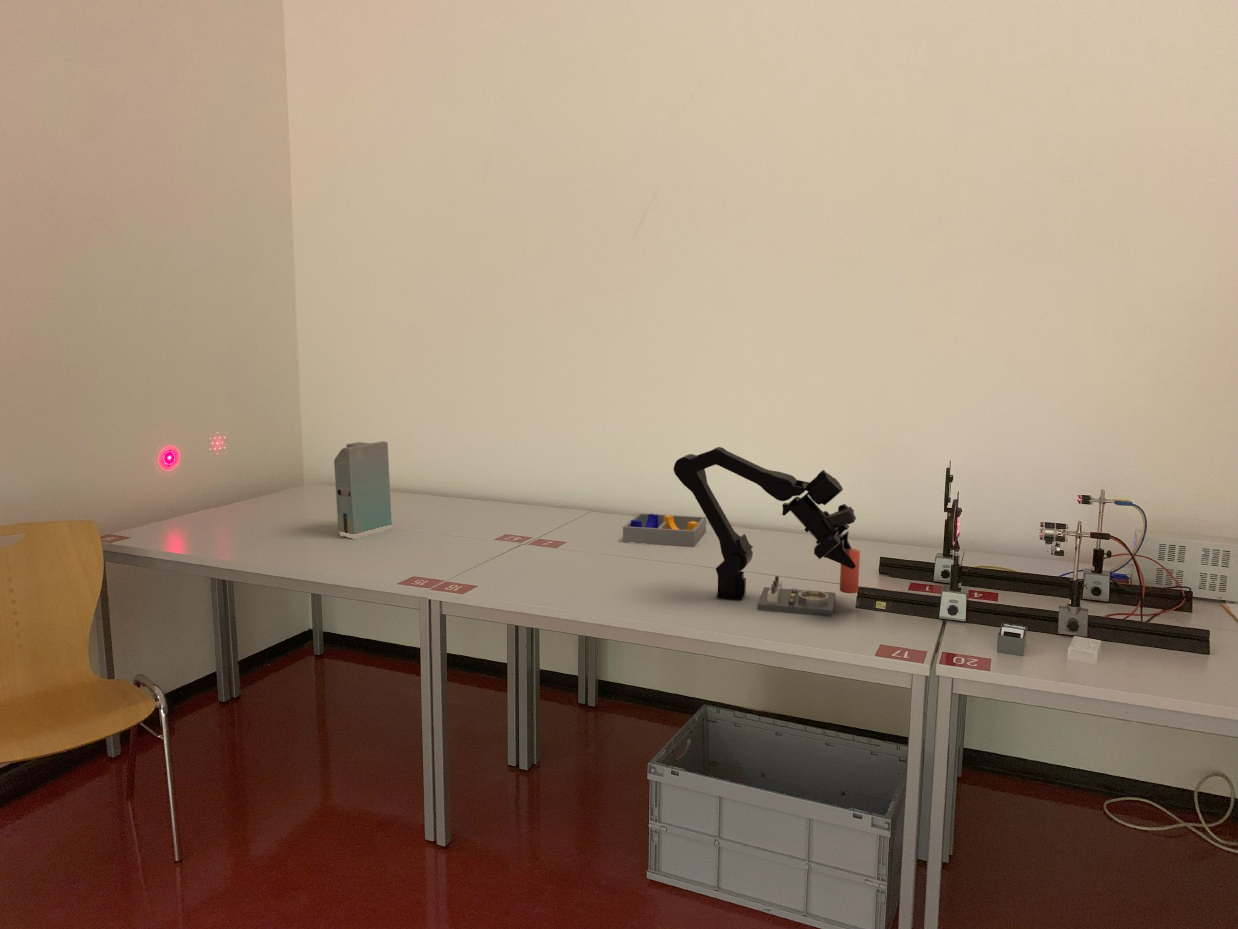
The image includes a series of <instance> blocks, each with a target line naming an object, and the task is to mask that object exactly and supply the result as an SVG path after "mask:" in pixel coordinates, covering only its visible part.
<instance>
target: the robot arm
mask: <svg viewBox="0 0 1238 929" xmlns="http://www.w3.org/2000/svg"><path fill="white" fill-rule="evenodd" d="M714 466H719V467H721V468H723V469H725V470H727V471H728V472H729V471H730V472H731V473H734V474H735V475H737V476H738V477H741V478H744V479H745V480H748V481H750V482H752V483H754V484H756V485H758V486H759V487H760V488H761V489H763V491H764V492H766V493H767V494H768V495H770V496H771V497H773V498H774V499H775V500H776V501H780V502H783V503H782V506H781V507H782V513H781V515H782V516H784V517H785V516H786V515H787V514H788V513H789V512H791V514H793V516H794V517H795V518H796V519H797V520H798V521H799V522H800V523H801V524H802V526H803V527H804V529H803V530H804V531H805V532H806V533H808V532H809V533H810V535H812V536H813V538H815V540H816V541H815V543H816V545H815V547H814V550H813V555H814V556H816V557H817V559H818V560H821V559H822V558H825V559H829V560H830V561H834V562H836V563H838V564H840V565H841V564H842V565H845V566H847V567H849V568H851V569H854V568H855V567H856V565H855V564H854V562H853V561H852V559H851V558H850V556H849V555H848V553H847V552H846V550H845V549H853V547H852V546H851V544H850V542H849V528H850V525H851V524H853V523H855V521H856V520H857V518H856V515H855V513H854V512H855V510H854V509H853V508H852V507H851V506H848V505H847V504H846V503H842V504H841V505H839V506H838V508H837V511H835V512H833V513H831V514H830V513H829V512H828V511H827V510H824V511H823V510H822V509H821V508H820V507H819V506H820V505H824V506H826V505H827V504H829V503H830V502H831V501H832V500H833V499H835V497H837V496H838V495H839V494H841V493H842V491H843V490H844V488H843V486H842V485H841V484H840V482H839V481H838V480H837V479H836V477H833V476H832V475H831V474H830V473H828V472H826V471H825V469H822V470H821V471H819V473H818V474H817V475H816V477H814V478H813V479H812V480H811V481H810V482H809V481H805V480H800V479H797V478H796V477H795V476H793V475H791V474H790V473H789V474H788V473H785V472H781V471H776V470H771V469H768V468H764V467H762V466H760V465H758V464H756V463H754V462H752V461H750V460H747V459H745V458H743V457H740V456H738V455H737V454H734V453H732V452H730V451H728V450H726V449H725V448H724V447H721V446H717V447H715V448H712V450H708V451H706V452H702V453H700V454H694V453H689V454H686V455H684V456H682V457H680V458H678V459H677V460H676V461H675V463H674V466H673V472H674V475H675V476H676V477H677V479H678V480H679V481H680V482H681V483H682V485H684V486H685V488H687V489H688V490H689V491H690V492H691V493H692V495H693V496H694V497H695V500H696V502H697V503H698V505H699V507H700V508H701V510H702V512H703V514H704V517H706V520H707V521H708V523H709V525H710V526H711V528H712V530H713V532H714V534H715V536H716V537H717V539H718V542H719V545H720V546H719V547H720V552H721V555H722V558H723V561H722V562H720V564H718V566H716V568H715V571H716V573H717V593H716V596H715V598H716V599H720V600H721V599H723V600H736V601H742V599H743V598H744V596H745V595H746V593H747V591H746V590H747V588H746V587H747V578H746V577H744V576H745V571H743V570H744V569H745V568H746V567H747V566H748V564H749V563H750V562H751V561H752V559H753V555H754V554H753V553H754V552H753V550H752V549H753V547H754V546H753V545H752V544H750V542H749V539H748V538H747V535H746V534H745V533H744V534H742V535H739V533H737V532H736V531H735V530H734V528H733V527H732V525H731V523H730V521H729V519H728V518H727V516H726V514H725V513H724V512H725V511H724V510H723V509H722V507H721V505H720V504H719V502H718V499H717V498H716V496H715V494H714V493H713V491H712V489H711V487H710V485H709V484H708V479H707V474H706V470H705V469H708V468H711V467H714ZM805 492H807V493H805ZM803 493H805V494H804V495H803V496H801V495H802V494H803ZM799 496H801V497H799ZM793 497H794V498H793ZM792 498H793V499H792ZM790 499H792V500H790ZM789 500H790V501H789ZM786 501H789V502H786ZM847 530H848V531H847ZM845 531H846V532H845ZM843 532H845V533H843Z"/></svg>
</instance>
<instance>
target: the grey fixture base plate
mask: <svg viewBox="0 0 1238 929" xmlns="http://www.w3.org/2000/svg"><path fill="white" fill-rule="evenodd" d="M779 578H780V576H778V575H775V577H774V580H772V581H771V585H770V586H769V587H765V586H764V587H763V589H762V592H761V594H760V597H759V599H758V601H757V604H756V605H757V606H756V611H766V612H778V613H789V614H801V615H802V614H803V615H811V616H813V615H815V616H822V617H823V616H825V617H833V615H834V608H835V603H836V602H835V601H836V592H832V591H831V592H830V591H822V590H811V589H809V590H806V589H797V588H792V589H791V588H783V581H782V580H780V579H779Z"/></svg>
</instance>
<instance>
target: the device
mask: <svg viewBox="0 0 1238 929" xmlns="http://www.w3.org/2000/svg"><path fill="white" fill-rule="evenodd" d="M388 446H389V445H388V441H378V442H371V443H370V442H369V443H368V442H362V441H361V442H352V443H346V444H345V447H343V448H341V449H340V451H339V452H338V454H337V455H336V457H335V458H334V460H333V463H334V465H333V466H334V478H335V479H334V480H335V496H336V511H337V512H336V514H337V527H338V528H337V530H338V531H340V532H345V533H349V534H358V533H361V532H365V531H368V530H373V529H376V528H379V527H383V526H388V525H392V526H393V524H392V522H393V521H392V506H391V505H392V504H391V486H390V484H391V483H390V468H389V466H390V464H389V463H390V462H389V447H388Z"/></svg>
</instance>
